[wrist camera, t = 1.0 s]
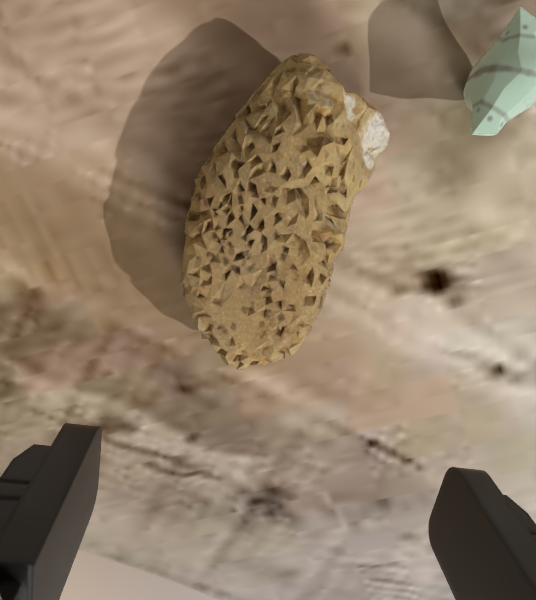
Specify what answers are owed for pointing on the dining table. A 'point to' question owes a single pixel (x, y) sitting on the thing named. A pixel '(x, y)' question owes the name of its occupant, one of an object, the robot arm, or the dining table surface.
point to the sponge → (276, 211)
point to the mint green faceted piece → (504, 77)
